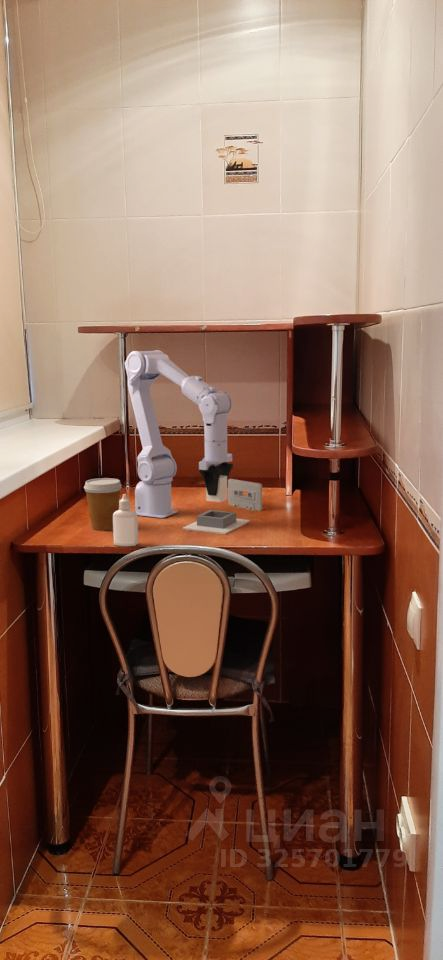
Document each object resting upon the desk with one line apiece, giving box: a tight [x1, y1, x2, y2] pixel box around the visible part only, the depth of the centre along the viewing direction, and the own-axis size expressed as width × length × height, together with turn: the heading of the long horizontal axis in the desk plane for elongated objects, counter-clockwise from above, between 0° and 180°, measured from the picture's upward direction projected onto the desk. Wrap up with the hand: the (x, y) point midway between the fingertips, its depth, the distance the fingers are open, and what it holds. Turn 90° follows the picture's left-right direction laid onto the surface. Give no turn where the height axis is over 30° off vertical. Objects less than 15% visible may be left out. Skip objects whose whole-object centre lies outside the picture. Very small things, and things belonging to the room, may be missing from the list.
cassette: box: [227, 478, 263, 512], centre depth 216 cm, size 12×2×8 cm, turn 47°
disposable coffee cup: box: [83, 477, 123, 531], centre depth 196 cm, size 10×10×12 cm
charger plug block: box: [205, 475, 228, 503], centre depth 196 cm, size 4×4×7 cm
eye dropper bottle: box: [112, 493, 139, 547], centre depth 180 cm, size 4×6×12 cm
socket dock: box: [182, 509, 251, 535], centre depth 197 cm, size 12×14×3 cm
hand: (216, 493), depth 196 cm, fingers closed on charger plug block, 4 cm apart
